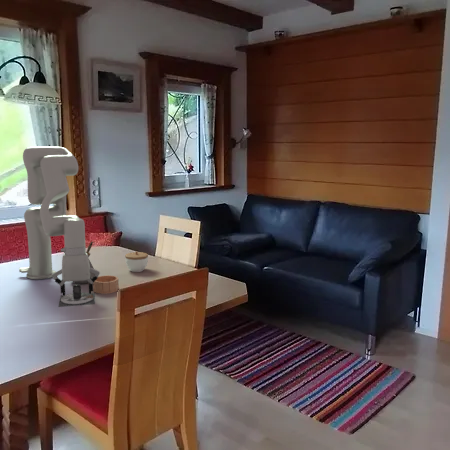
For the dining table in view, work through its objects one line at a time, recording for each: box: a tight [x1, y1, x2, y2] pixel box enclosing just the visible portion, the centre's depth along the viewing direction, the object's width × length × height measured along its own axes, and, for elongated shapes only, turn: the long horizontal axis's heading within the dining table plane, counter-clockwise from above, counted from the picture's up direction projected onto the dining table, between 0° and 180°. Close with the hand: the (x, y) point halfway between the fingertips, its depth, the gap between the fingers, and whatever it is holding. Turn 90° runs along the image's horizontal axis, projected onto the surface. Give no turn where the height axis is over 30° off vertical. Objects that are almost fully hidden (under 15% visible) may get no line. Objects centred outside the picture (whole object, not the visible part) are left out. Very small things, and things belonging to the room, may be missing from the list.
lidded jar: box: [124, 250, 149, 273], centre depth 218 cm, size 11×11×9 cm
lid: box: [61, 283, 93, 306], centre depth 175 cm, size 12×12×6 cm
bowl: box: [93, 274, 120, 295], centre depth 187 cm, size 10×10×5 cm
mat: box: [58, 292, 96, 308], centre depth 175 cm, size 13×13×1 cm
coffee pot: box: [72, 241, 96, 285], centre depth 202 cm, size 21×12×15 cm, turn 0°
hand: (77, 293), depth 175 cm, fingers open, 9 cm apart
